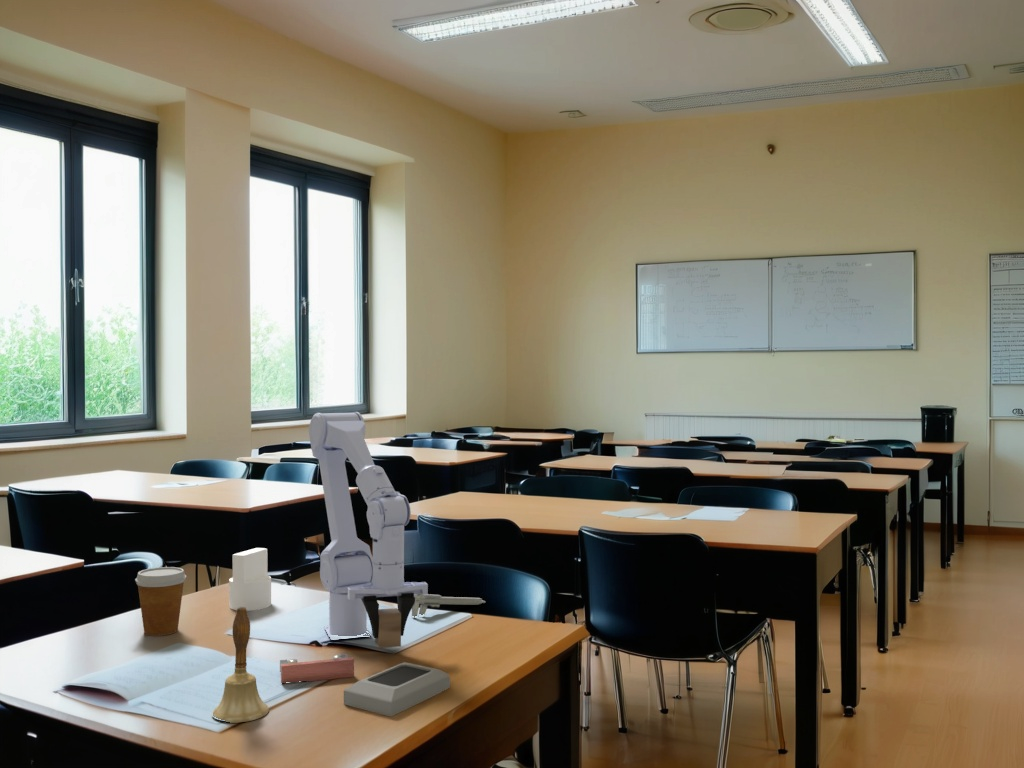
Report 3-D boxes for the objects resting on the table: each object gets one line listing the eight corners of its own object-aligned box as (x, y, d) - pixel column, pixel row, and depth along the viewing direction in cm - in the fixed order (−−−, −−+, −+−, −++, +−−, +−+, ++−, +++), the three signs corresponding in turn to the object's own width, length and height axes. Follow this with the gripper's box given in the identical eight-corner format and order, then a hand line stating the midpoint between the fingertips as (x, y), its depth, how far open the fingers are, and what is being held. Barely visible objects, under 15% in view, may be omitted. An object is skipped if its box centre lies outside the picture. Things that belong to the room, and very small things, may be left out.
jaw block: (375, 641, 171) (375, 609, 171) (396, 640, 172) (396, 608, 172) (379, 648, 167) (379, 615, 167) (400, 646, 168) (401, 613, 168)
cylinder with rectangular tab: (254, 612, 199) (254, 556, 199) (220, 608, 202) (220, 553, 202) (279, 602, 208) (279, 549, 207) (246, 599, 211) (246, 546, 211)
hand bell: (219, 704, 144) (218, 602, 144) (273, 702, 144) (273, 601, 144) (205, 724, 135) (205, 616, 135) (263, 722, 136) (263, 615, 136)
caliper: (414, 620, 194) (415, 590, 194) (411, 619, 194) (411, 589, 194) (485, 603, 208) (485, 576, 208) (482, 602, 209) (482, 575, 209)
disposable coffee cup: (124, 635, 181) (124, 574, 181) (159, 623, 190) (159, 565, 190) (162, 640, 178) (162, 578, 178) (196, 628, 187) (196, 568, 186)
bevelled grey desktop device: (343, 683, 144) (404, 658, 157) (343, 706, 144) (404, 679, 157) (391, 694, 139) (449, 668, 152) (391, 719, 139) (449, 690, 152)
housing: (278, 671, 159) (278, 654, 159) (347, 665, 163) (347, 648, 163) (281, 684, 153) (281, 666, 153) (354, 676, 157) (354, 659, 157)
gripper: (352, 568, 163) (351, 645, 163) (432, 563, 168) (431, 638, 168) (346, 560, 170) (345, 634, 170) (423, 556, 175) (422, 627, 175)
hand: (387, 635), depth 170 cm, fingers closed on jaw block, 4 cm apart
